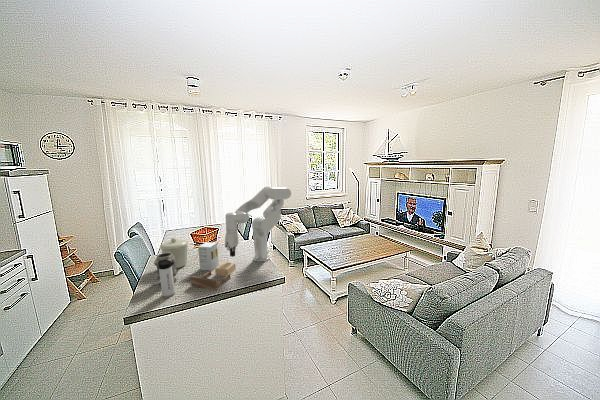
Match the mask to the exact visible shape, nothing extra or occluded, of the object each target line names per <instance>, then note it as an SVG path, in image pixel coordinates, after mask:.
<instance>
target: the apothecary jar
mask: <svg viewBox="0 0 600 400" xmlns="http://www.w3.org/2000/svg"><path fill="white" fill-rule="evenodd" d="M163 260H170V261H171V265H172V272H173V281H174V284H175V283H176V282H177V278H176V276H177V274H178V271H179V270H178V268H177V269H176V268H175V265H174V262H175V261H176V258H175V256H173V255H172V253H170V252H168V253H162V252H161V253H159V254H157V255H156V258H155V260H154V262H153V265H154V266H156V270H157V272H156V273H155V279H156V280H159V283H158V285H159V286H160V287H161V281H160V274H159V265H158V262H159V261H163Z"/></svg>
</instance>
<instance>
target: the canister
mask: <svg viewBox="0 0 600 400" xmlns="http://www.w3.org/2000/svg"><path fill="white" fill-rule="evenodd" d="M188 244H189V241H188V240H186V239H183V238H176V237H171V238H170V240H168V241H164V242H163V243H162V244H160V245H159V248H160V250H161V254H162V253H168V252H170V253H172V255H173V256H175V258H176V261H175V262H174V265H175V268H176V269H177V270H178V269H180V268H183V267H184V266H186V265H187V262H188Z"/></svg>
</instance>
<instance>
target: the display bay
mask: <svg viewBox="0 0 600 400" xmlns="http://www.w3.org/2000/svg"><path fill="white" fill-rule="evenodd" d="M210 276H212V271H211V270H208V272H206V273H204V274H203V275H201V276H197V275H196V276H195V275H191V276H189V280H190V281H189V282H190V287H195V288H199V289H203V290H204V289H205V290H209V291H214V292H216V291H218V288H220V287H221V286H222V285H224V284H225V283H226V282H228V281H229V280H230V279H231V274H229V275H227V276H223V278H222V279H220V280H219V281H218V282H217V279H213V278H209V277H210Z"/></svg>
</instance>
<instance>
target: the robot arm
mask: <svg viewBox="0 0 600 400" xmlns="http://www.w3.org/2000/svg"><path fill="white" fill-rule="evenodd" d="M291 196H292V191H291V189H290V188H289V187H284V186H277V187H272V186H264V187H263V188H261V189H260V191H258V192H257V194H255V196H253V197H252V198H251V199H249V200H248V201H246V202H244V203H243V204H242V205H240V206H239V207H238V208H237V209H236V210H235V211H234V212H227V213H225V236H224V248H226V251H229V256H230V257H236V249H237V248H236V247H237V246H239V245H238V244H239V233H238V224H246V223H247V222H248V221H249V219H250V215H249V214H248V213H249V212H251V211H253V210H257V209H259V208H261V207H262V206H263V205H265V203H266V202H267V201H269V199H271V200H273V201H272V202H271V203H270V204H269V205H268V207H266V208H265V210H263V213H262V215H263V217H256V218H254V219H253V221H251V222H252V223H251V226H252V228H251V229H252V232H253V243H254V244H253V245H254V246H253V248H254V256H252V260H253V261H255V262H257V263H259V262H260V263H261V262H262V263H263V262H267V261H269V260H270V257H271V256H270V255H269V253H270V249H268V237H267V236H268V235H267V233H270V232H271V231H272V229H273V228H274V227H275V226H276V225H277V224H278V222H279V221H280V220H281V218H282V212H281V210H282V208H283V207H284V204H285V200H287V199H289V198H291Z"/></svg>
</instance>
